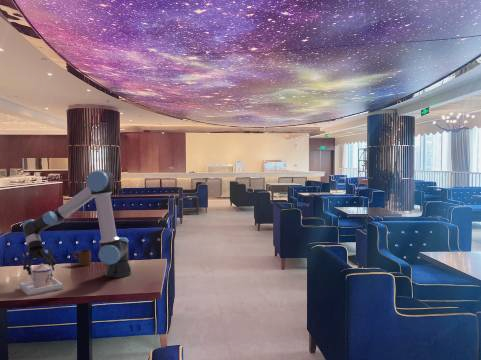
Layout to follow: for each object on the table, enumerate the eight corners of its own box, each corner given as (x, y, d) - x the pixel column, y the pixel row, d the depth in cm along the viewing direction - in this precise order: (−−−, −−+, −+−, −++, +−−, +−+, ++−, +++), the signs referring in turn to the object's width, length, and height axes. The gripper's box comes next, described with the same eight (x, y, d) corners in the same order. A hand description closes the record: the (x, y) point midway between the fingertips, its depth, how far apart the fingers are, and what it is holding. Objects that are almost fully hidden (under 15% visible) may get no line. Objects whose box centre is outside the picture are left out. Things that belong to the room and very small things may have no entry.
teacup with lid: (49, 287, 213) (49, 265, 212) (30, 288, 211) (30, 266, 210) (54, 280, 224) (54, 260, 224) (36, 281, 222) (36, 261, 222)
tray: (62, 289, 216) (62, 283, 216) (28, 295, 205) (28, 290, 205) (53, 282, 229) (53, 277, 229) (20, 288, 218) (20, 282, 218)
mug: (70, 266, 267) (70, 252, 267) (74, 263, 274) (74, 249, 274) (88, 266, 268) (88, 252, 267) (92, 263, 275) (92, 249, 275)
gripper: (53, 245, 235) (62, 277, 224) (11, 250, 221) (19, 285, 209) (56, 237, 231) (65, 270, 220) (13, 242, 217) (21, 277, 205)
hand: (43, 277), depth 215 cm, fingers closed on teacup with lid, 9 cm apart
